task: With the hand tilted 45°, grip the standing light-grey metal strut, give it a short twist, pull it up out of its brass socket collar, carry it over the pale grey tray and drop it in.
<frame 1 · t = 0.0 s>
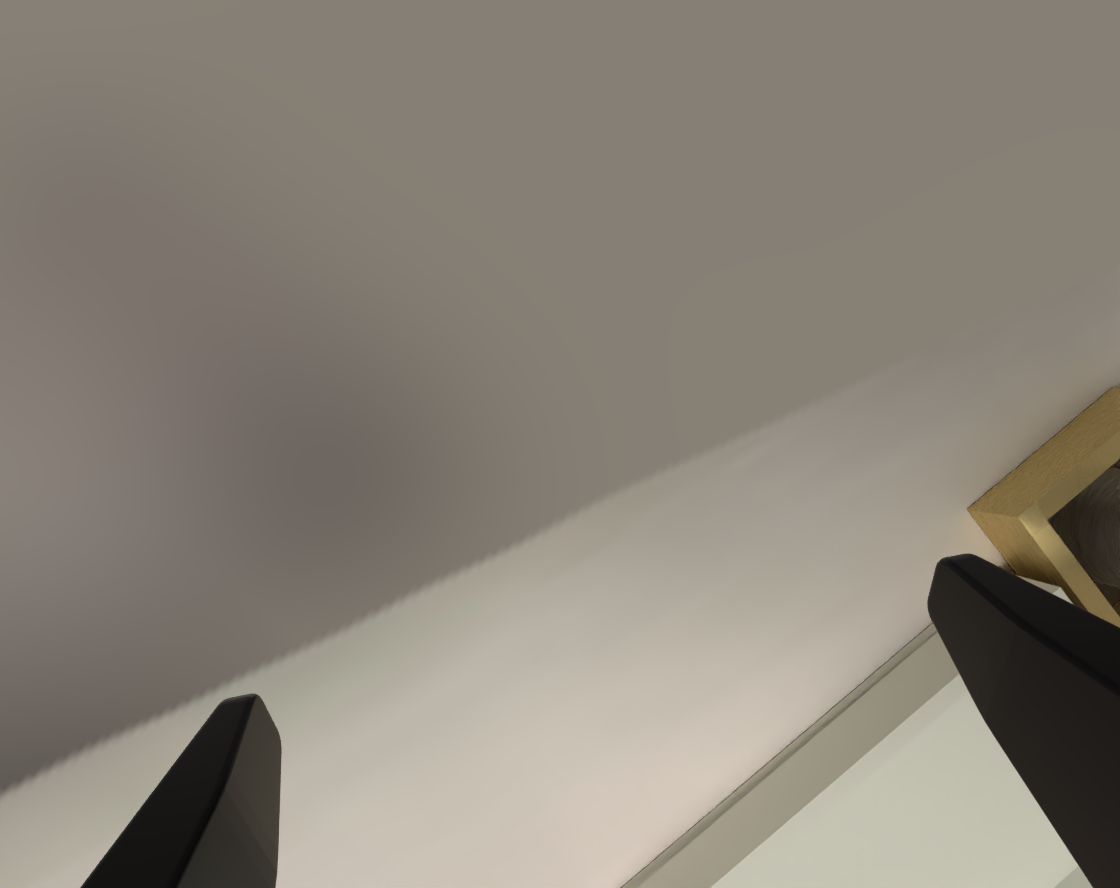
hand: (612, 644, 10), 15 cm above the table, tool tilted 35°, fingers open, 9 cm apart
socket collar: (1096, 523, 26), on the table
tray: (885, 850, 26), on the table
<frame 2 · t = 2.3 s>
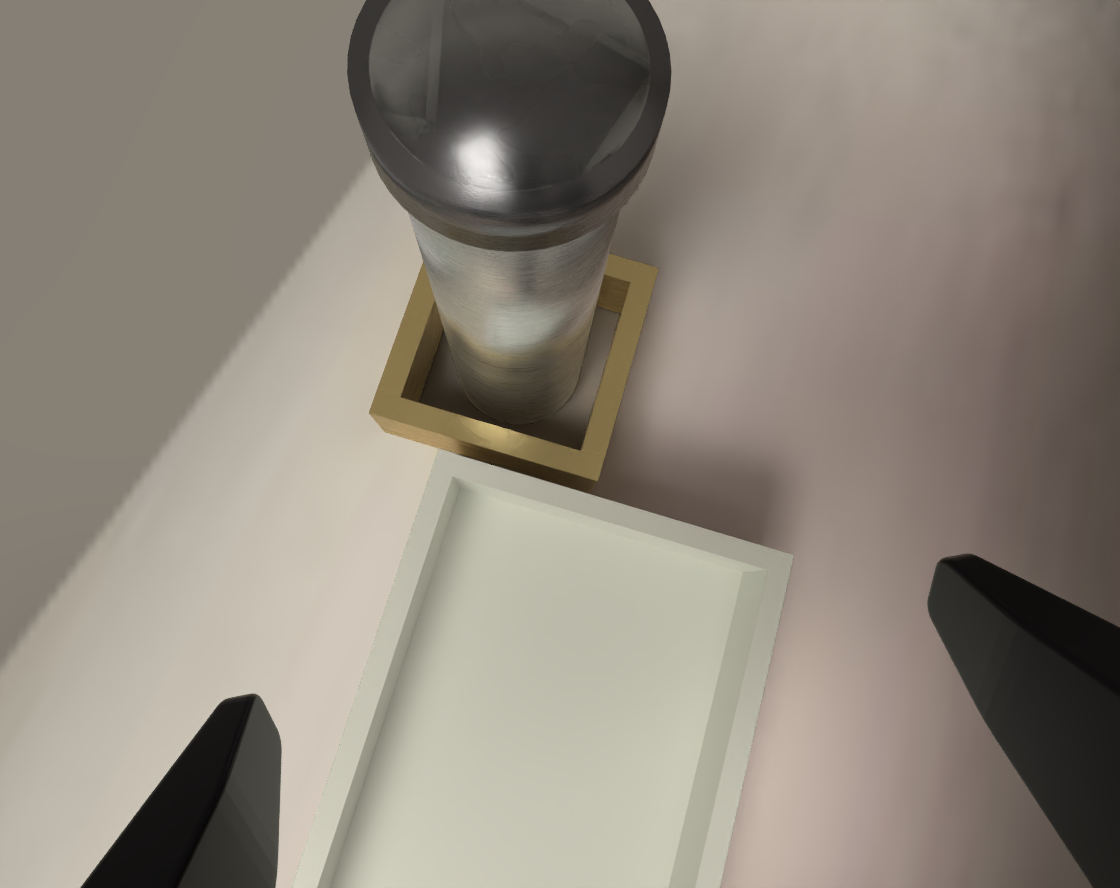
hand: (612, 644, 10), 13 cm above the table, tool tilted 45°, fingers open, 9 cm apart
socket collar: (518, 364, 24), on the table
tray: (519, 814, 22), on the table
strut: (516, 273, 17), in the socket collar
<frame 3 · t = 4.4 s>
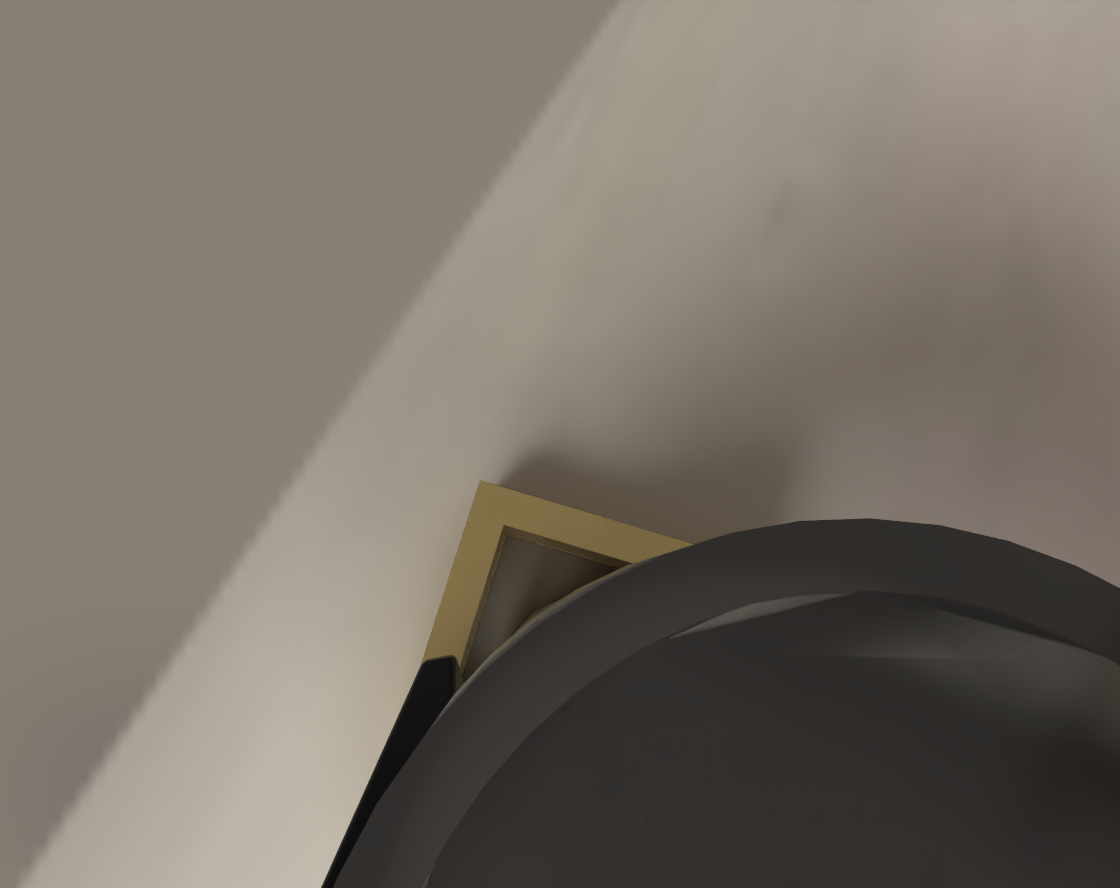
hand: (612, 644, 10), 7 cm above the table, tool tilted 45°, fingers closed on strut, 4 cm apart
socket collar: (587, 688, 16), on the table
strut: (632, 753, 10), in the socket collar, touching gripper
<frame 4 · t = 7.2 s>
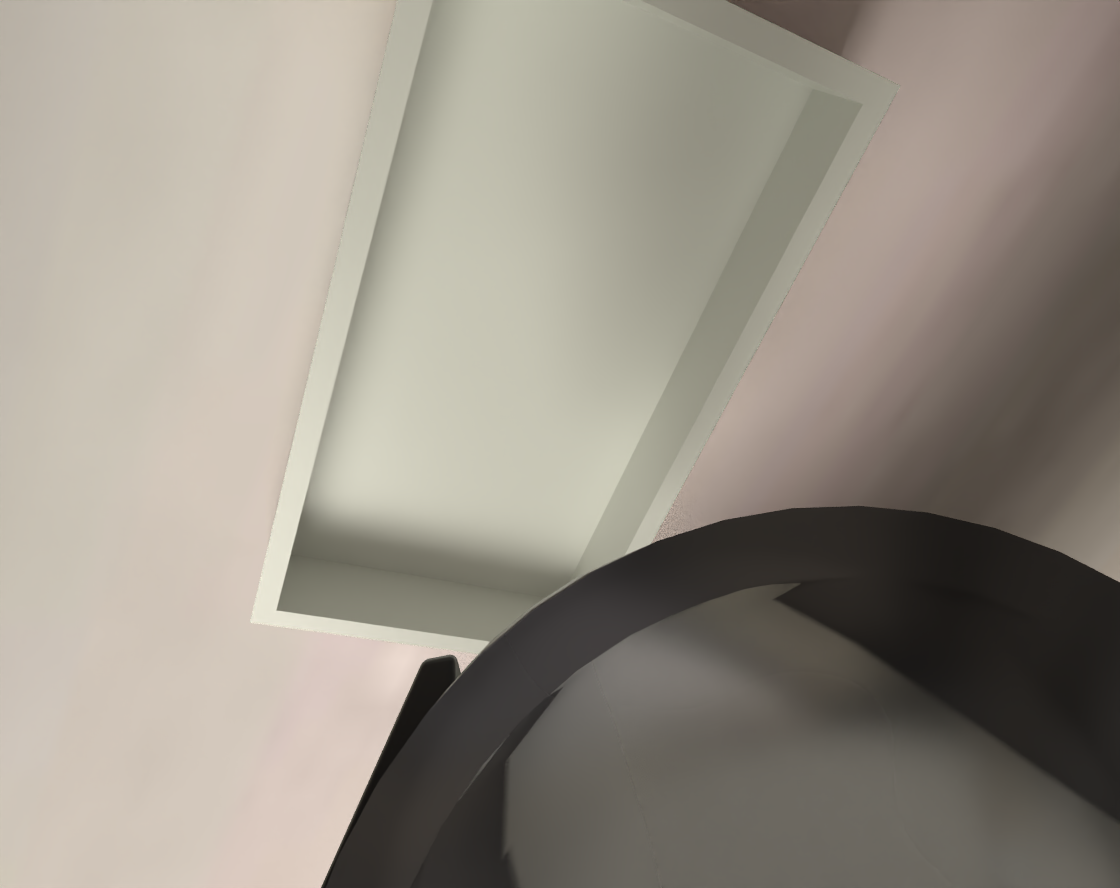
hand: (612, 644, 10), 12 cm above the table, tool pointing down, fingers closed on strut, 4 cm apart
tray: (517, 339, 21), on the table
strut: (631, 747, 10), point 13 cm above the table, tilted 44°, touching gripper
when the fingers open (6 cm above the table, at t = 8.7 s): strut drops 3 cm and tips over, resting on tray.
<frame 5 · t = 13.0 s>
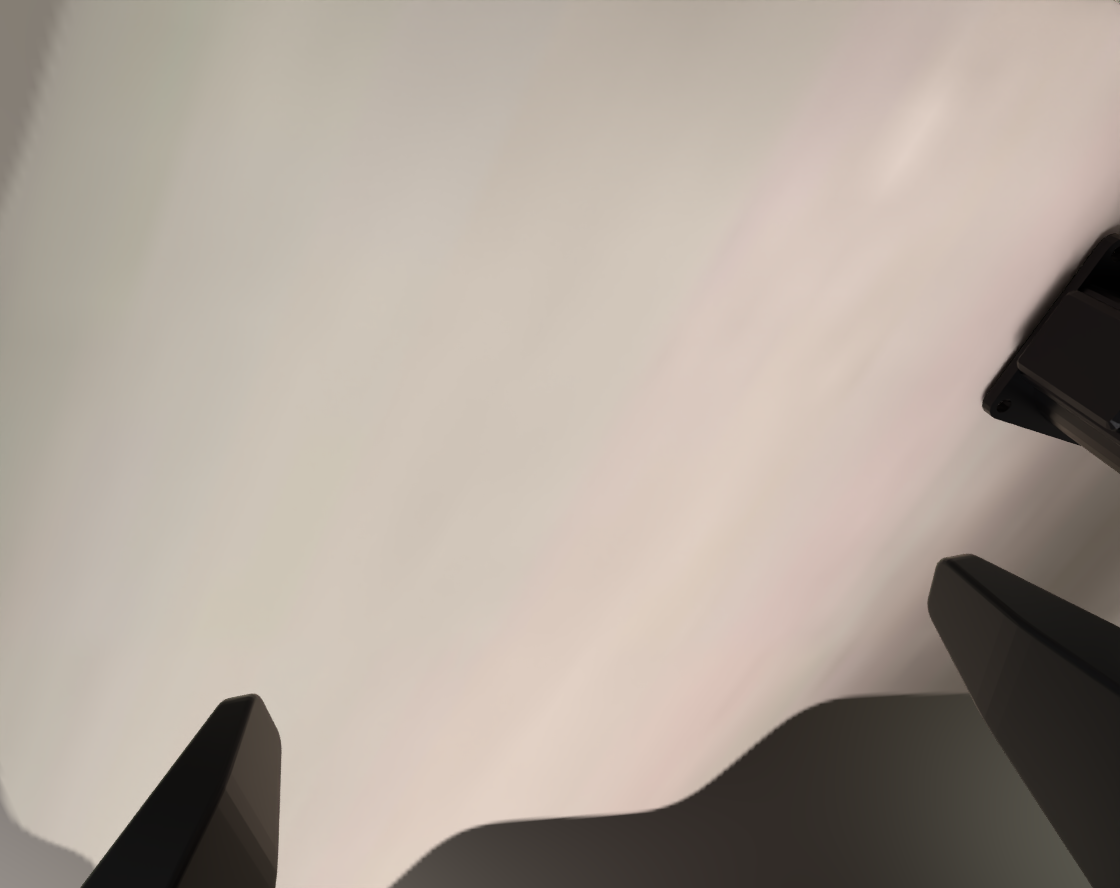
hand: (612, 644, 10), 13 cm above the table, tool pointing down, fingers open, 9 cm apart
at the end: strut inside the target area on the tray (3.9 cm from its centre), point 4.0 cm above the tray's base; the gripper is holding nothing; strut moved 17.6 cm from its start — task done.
